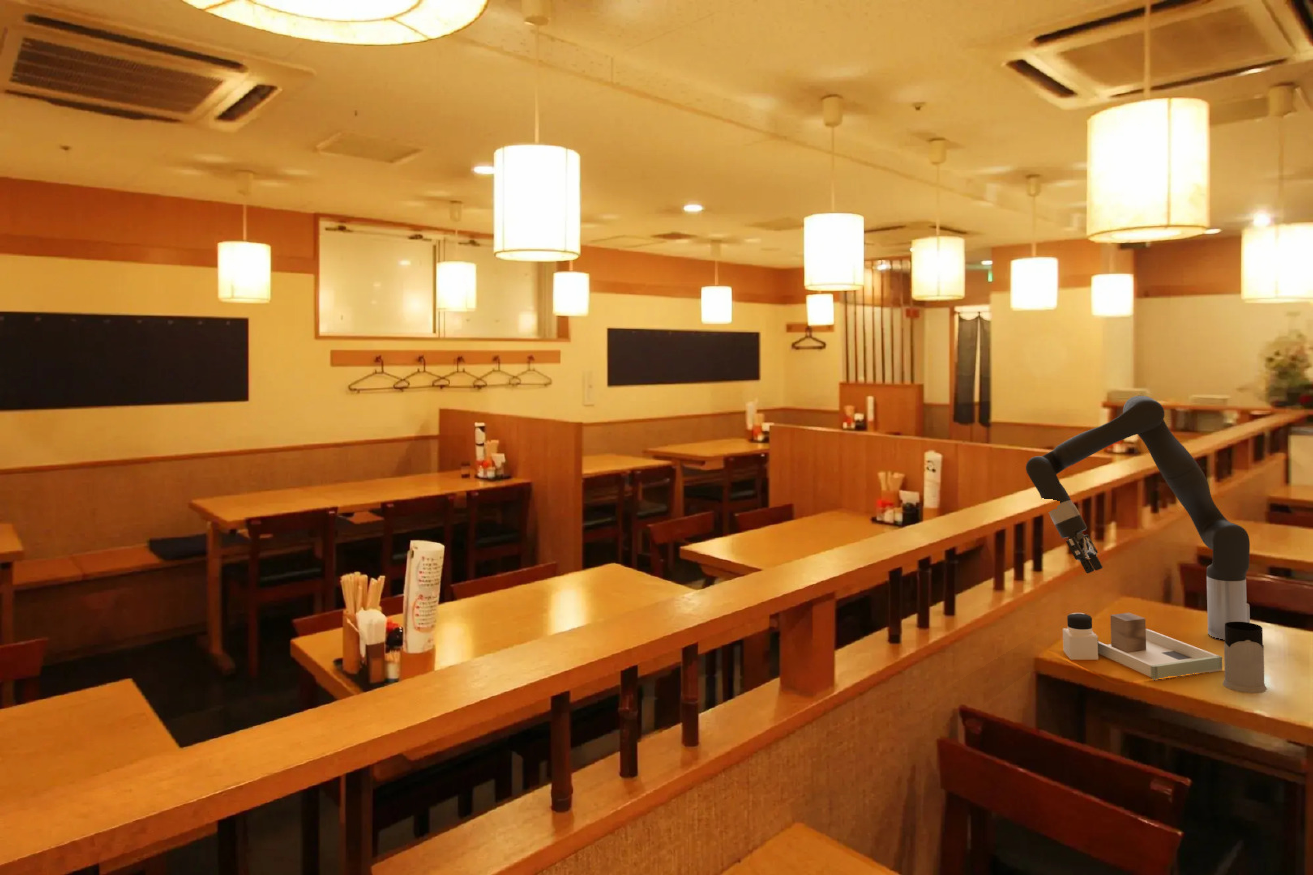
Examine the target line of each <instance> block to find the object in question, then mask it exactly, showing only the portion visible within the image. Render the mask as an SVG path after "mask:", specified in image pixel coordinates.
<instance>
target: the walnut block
mask: <svg viewBox="0 0 1313 875" xmlns="http://www.w3.org/2000/svg"><path fill="white" fill-rule="evenodd" d="M1109 617H1110V642H1111V643H1110V644H1111V646H1112V647H1114V648H1117V649H1119V650H1121V651H1124V652H1126V653H1130V652H1137V651H1145V650H1146V629H1147V624H1146V618H1145V617H1143V616H1141V615H1137V614H1134V613H1132V612H1124V613H1116V614H1110V616H1109Z"/></svg>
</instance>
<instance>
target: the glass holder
mask: <svg viewBox="0 0 1313 875" xmlns="http://www.w3.org/2000/svg"><path fill="white" fill-rule="evenodd" d="M1263 632H1264V631H1263V626H1261V625H1259V624H1257V623H1252V622H1250V623H1248V622H1235V621H1233V622H1227V623H1225V640H1224V643H1223V648H1224V649H1223V650H1224V660H1223V661H1224V679H1223V681H1222V685H1223V686H1224V687H1226V688H1227V689H1229V690H1233V691H1236V692H1239V693H1240V692H1241V693H1246V694H1247V693H1249V694H1261V693H1264V692H1266V691H1267V686H1266V683H1265V652H1264V650H1265V647H1264V644H1263V643H1264V640H1263V638H1264V637H1263V635H1264V634H1263Z"/></svg>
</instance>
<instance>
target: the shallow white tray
mask: <svg viewBox="0 0 1313 875" xmlns="http://www.w3.org/2000/svg"><path fill="white" fill-rule="evenodd" d="M1170 651H1175V652H1178V653H1180V654H1183V655H1185V656H1188V657H1191V658H1189V659H1182V660H1178V659H1175V658H1173V657H1170V656H1168V655H1165V654H1163V652H1170ZM1098 655H1101V656H1103V657H1106V658H1108V659H1109V660H1112V661H1114V662H1116V663H1119V664H1121V665H1122V666H1125V667H1127V668H1130V669H1132V670H1134V671H1136V672H1138V673H1140V674H1142V675H1145V676H1147V677H1150V678H1151V679H1153V680H1152V681H1154V680H1155V681H1157V680H1156V679H1159V678H1164V677H1168V676H1181V675H1186V674H1193V673H1194V674H1195V673H1203V672H1209V673H1214V672H1215V673H1216V672H1220V671H1221V670H1222V671H1223V657H1222V656H1220V655H1218V654H1215V653H1213V652H1210V651H1207V650H1205V649H1201V648H1199V647H1196V646H1194V645H1192V644H1189V643H1186V642H1184V641H1181V640H1178V639H1175V638H1174V637H1173V638H1172V637H1170V636H1167V635H1165V634H1162V633H1159V632H1157V631H1154V630H1152V629H1149V628H1146V650H1145V651H1137V652H1130V653H1126V652H1124V651H1121V650H1119V649H1117V648H1114V647H1112V646H1111V643H1109V644H1106V643H1103V642H1102V641H1099V640H1098ZM1222 671H1221V672H1222ZM1203 674H1204V673H1203ZM1151 679H1150V680H1151Z"/></svg>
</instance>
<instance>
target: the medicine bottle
mask: <svg viewBox="0 0 1313 875" xmlns="http://www.w3.org/2000/svg"><path fill="white" fill-rule="evenodd" d="M1066 619H1067V622H1066V623H1067V628H1065V627H1064V628H1062V642H1063V643H1062V644H1063V645H1062V646H1063V647H1062V648H1063V652H1064V653H1065V655H1066V656H1067V658H1069V660H1070V662H1072V660H1074V661H1075V660H1080V661H1081V660H1082V661H1083V660H1084V661H1085V660H1099V654H1098V641H1099V636H1098V635H1097V634H1096V633H1095V632H1094V630H1093V618H1092V616H1091V615H1090V614H1087V613H1085V612H1084V613H1083V612H1073V613H1069V614H1068V615H1067V617H1066Z"/></svg>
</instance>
